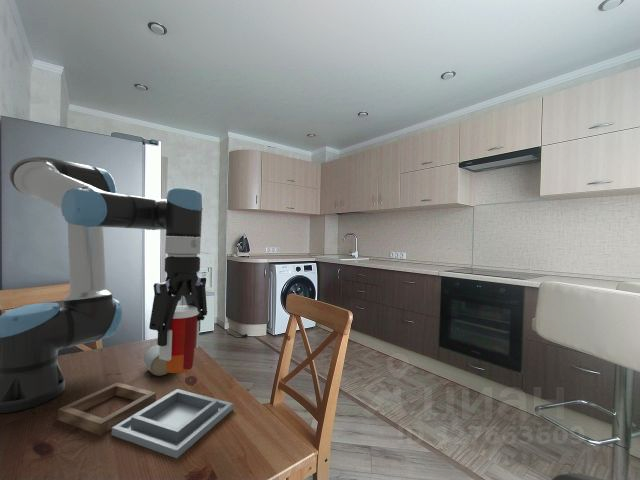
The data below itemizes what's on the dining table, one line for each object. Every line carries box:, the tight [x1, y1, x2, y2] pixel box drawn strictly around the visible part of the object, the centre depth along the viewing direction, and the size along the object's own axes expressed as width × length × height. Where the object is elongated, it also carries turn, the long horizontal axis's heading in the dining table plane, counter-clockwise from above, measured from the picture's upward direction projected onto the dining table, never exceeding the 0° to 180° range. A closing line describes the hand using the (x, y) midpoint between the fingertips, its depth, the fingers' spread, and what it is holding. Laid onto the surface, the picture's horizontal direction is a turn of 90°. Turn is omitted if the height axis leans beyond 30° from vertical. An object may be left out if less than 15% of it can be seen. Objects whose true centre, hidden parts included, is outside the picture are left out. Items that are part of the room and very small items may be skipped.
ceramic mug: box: [143, 344, 169, 377], centre depth 95 cm, size 11×8×8 cm
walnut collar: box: [57, 381, 157, 436], centre depth 72 cm, size 14×14×2 cm
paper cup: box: [166, 304, 199, 374], centre depth 69 cm, size 8×8×14 cm
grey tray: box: [111, 388, 234, 459], centre depth 69 cm, size 18×18×3 cm
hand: (179, 352), depth 69 cm, fingers closed on paper cup, 8 cm apart
